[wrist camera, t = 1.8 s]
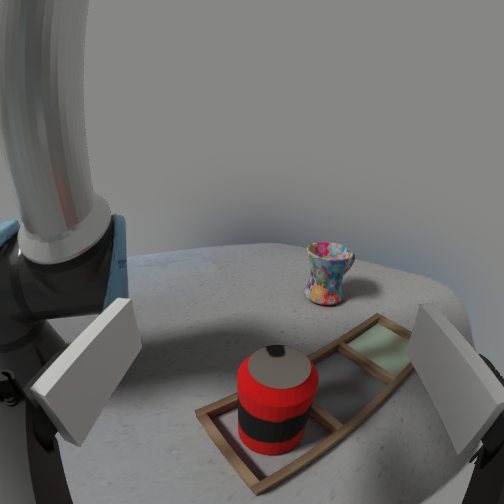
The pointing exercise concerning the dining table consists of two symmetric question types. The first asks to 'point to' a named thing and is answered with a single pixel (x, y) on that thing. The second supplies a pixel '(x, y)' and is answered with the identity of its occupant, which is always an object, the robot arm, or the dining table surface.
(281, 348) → the soda can
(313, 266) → the mug
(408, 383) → the dining table surface
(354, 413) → the frame
